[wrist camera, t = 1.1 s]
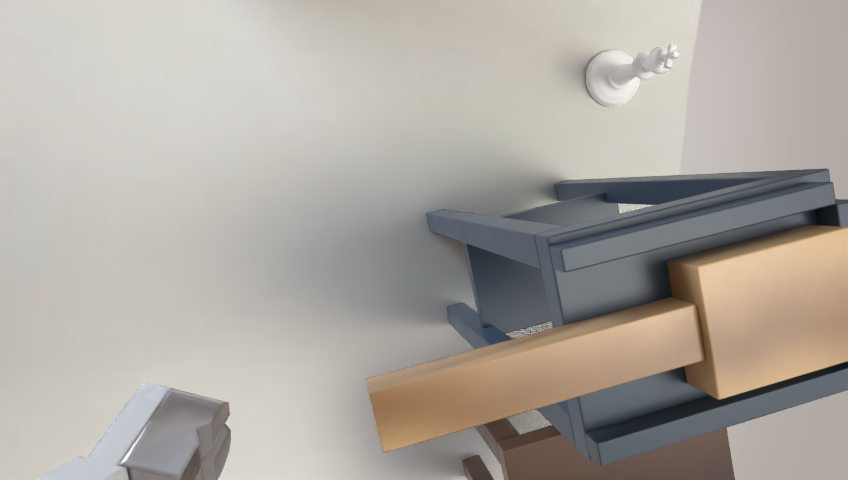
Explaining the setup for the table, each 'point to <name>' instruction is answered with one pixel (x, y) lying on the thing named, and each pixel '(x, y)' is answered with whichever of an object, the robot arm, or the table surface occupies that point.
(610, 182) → the tall stand
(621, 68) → the chess piece
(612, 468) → the low stand
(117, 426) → the robot arm
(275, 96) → the table surface
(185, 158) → the table surface
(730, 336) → the crossed tan timber pieces
